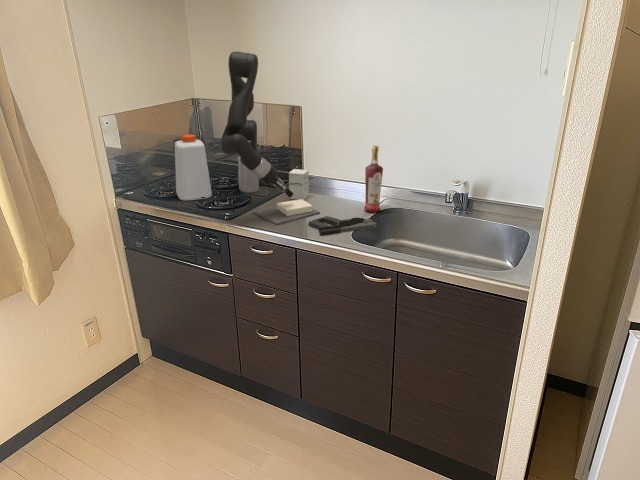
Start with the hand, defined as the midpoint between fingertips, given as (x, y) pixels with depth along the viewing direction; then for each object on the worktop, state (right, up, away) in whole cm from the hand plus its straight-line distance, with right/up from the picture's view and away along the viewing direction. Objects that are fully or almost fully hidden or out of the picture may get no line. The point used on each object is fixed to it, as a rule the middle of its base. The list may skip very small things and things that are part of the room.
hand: (291, 195), depth 211 cm
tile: (-4, -6, 0) cm, 7 cm away
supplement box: (+2, +1, +23) cm, 23 cm away
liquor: (+34, -6, +6) cm, 36 cm away
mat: (-2, -7, +3) cm, 8 cm away
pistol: (+21, -13, -9) cm, 27 cm away
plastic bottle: (-47, +2, +24) cm, 53 cm away
